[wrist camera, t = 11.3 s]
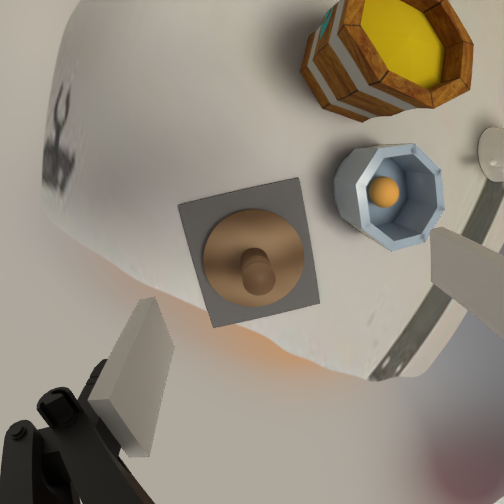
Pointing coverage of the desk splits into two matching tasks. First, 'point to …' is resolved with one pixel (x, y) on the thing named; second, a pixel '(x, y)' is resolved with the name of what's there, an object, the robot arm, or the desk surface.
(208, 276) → the lid
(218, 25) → the desk surface
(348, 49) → the mug
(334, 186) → the bowl
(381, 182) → the ball
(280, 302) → the mat
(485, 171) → the mug
